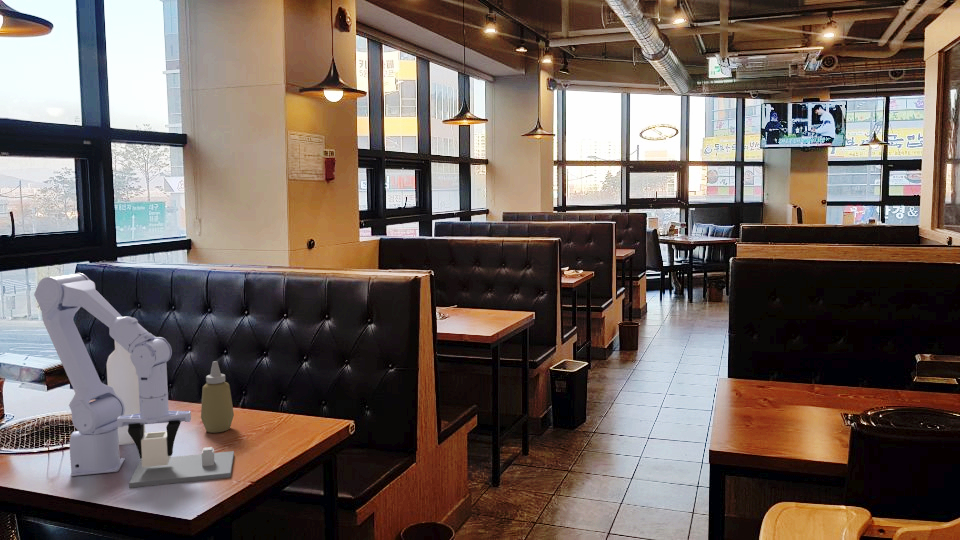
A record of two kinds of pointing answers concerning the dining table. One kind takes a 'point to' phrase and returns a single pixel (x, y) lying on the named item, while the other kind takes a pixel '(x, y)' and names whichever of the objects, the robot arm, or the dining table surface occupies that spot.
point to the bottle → (124, 386)
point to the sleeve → (155, 449)
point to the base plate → (185, 469)
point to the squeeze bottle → (216, 402)
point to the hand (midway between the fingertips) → (156, 455)
